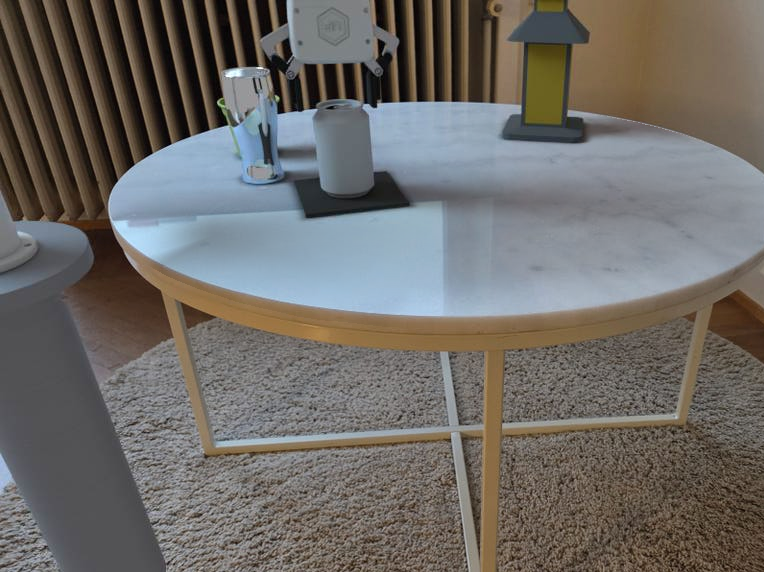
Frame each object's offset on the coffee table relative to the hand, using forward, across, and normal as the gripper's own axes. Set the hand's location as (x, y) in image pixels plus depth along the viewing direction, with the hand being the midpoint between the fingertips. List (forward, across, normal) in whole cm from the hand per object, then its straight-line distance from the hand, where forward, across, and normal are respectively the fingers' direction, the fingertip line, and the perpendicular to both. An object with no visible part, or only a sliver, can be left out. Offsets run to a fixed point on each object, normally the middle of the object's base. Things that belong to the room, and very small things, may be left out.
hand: (336, 107), depth 90 cm
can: (+12, +1, 0) cm, 12 cm away
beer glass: (+12, -10, +11) cm, 20 cm away
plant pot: (+12, -10, +23) cm, 28 cm away
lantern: (+11, +41, +22) cm, 48 cm away
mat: (+12, +1, 0) cm, 12 cm away
